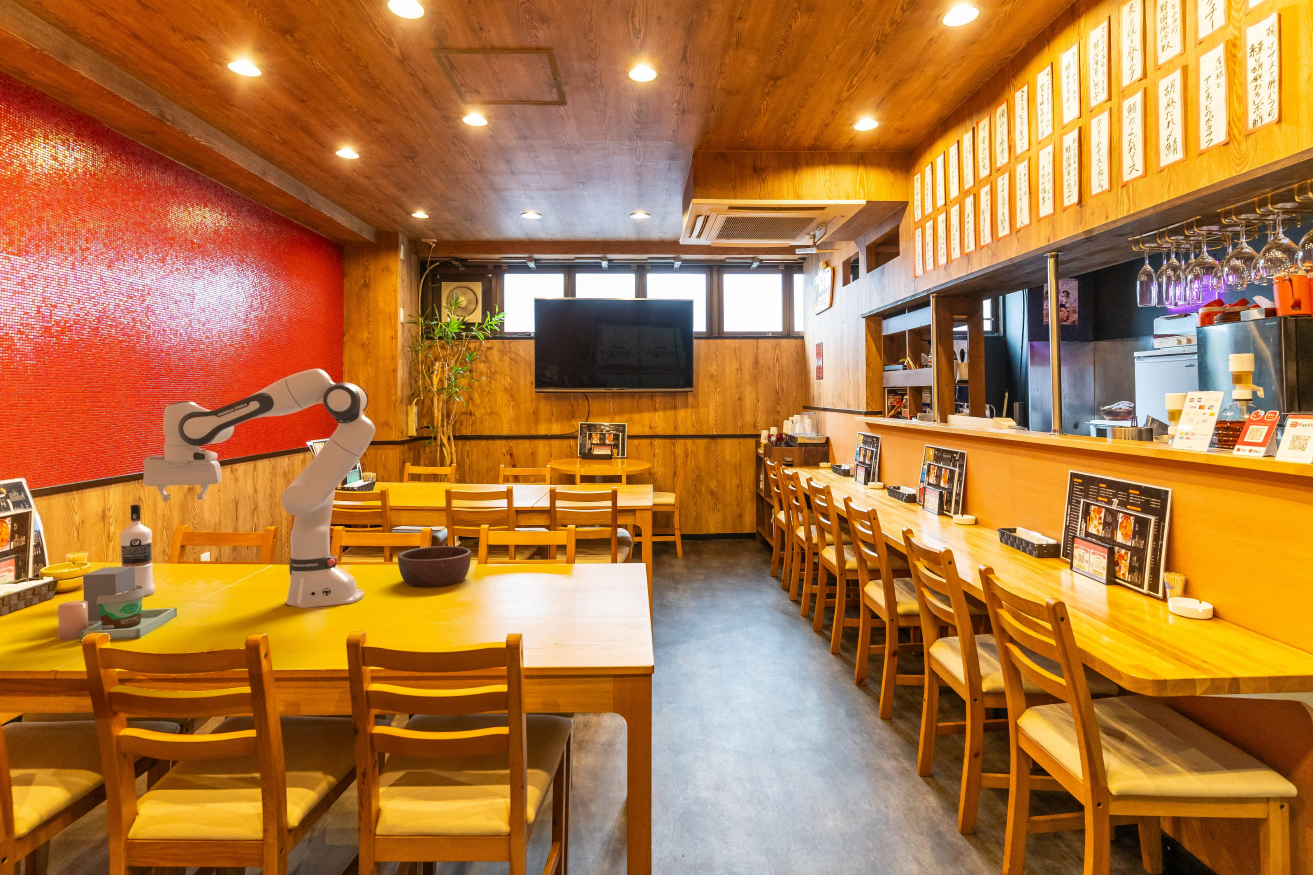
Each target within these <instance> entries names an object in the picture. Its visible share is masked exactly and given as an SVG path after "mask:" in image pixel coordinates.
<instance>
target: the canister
mask: <svg viewBox="0 0 1313 875" xmlns="http://www.w3.org/2000/svg"><path fill="white" fill-rule="evenodd" d="M57 612H58V614H57V617H58V618H57V619H58V620H57V621H58V640H59V641H62V642H63V641H64V642H65V641H66V642H67V641H75V640H79V632H81V631H83V630H85V629H87V628H89V625H88V601H84V600H72V601H65V602H63V603H60V604H58V605H57Z"/></svg>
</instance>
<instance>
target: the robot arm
mask: <svg viewBox="0 0 1313 875" xmlns="http://www.w3.org/2000/svg"><path fill="white" fill-rule="evenodd" d="M318 404H323V406H324V408H325V409H326V411H327V413H329V414H330V416H331V417H332V418H333V420H334V421H336V423H338V425H337V427H336V428H335V430H334V431H333V433H332V434H331V435H330V437H329V438H328V440H327V441H326V442H325V444H324V445H323V447H321V449H320V450H319V452H318V453H317V454H316V456H314V458H313V459H312V460H311V461H310V463H308V464H307V466H305V467H304V469H303V470H302V471H301V472H300V473H299V474H298V475H297V476H296V478H294V480H293V481H292V482H290V484H289V486H287V488H286V489H285V490H284V491H283V492H282V495H281V499H280V501H281V502H280V503H281V506H282V508H283V510H285V512H287V513H288V514H290V515H293V516H294V522H293V526H292V529H291V532H290V557H289V563H288V565H289V568H288V569H289V576H290V582H289V590H288V593H287V598H286V601H285V604H286V605H289V606H294V607H298V608H299V609H307V608H314V607H315V608H316V607H317V608H318V607H325V606H326V607H327V606H335V605H345V604H352V603H353V604H354V603H356V602H358V601H360V600H361V599H362V598H364V596H365V592H364V590H363V589H359V588H358V587H357V582H356V580H355V577H354V576H353V575H352V574H350V573H349V572H347V571H345V570H344V569H342V568H341V567H339V566H337V565H338V564H337V563H338V555H335V556H334V555H332V554H331V552H330V548H331V547H330V546H331V545H330V544H331V543H330V542H331V540H330V539H331V537H330V534H331V532H330V530H331V522H332V514H333V508H334V499H335V496H336V488H337V487H338V486H339V485H340V484H341V482H343V481H344V480H345V478H347V476H348V475H349V474H350V473H351V471H352V470H353V468H354V467H356V465H357V463H358V461H360V459H361V457H362V456H363V455H364V453H365V452H366V450H367V449H368V447H369V446H370V444H371V442H372V440H373V438H374V436H375V433H376V427H375V424H374V422H373V421H372V420H371V419H370V418H368V417H367V416H366V415H365V414H364V412H365V411H366V410H367V407H368V406H369V405H368V404H369V396H368V393H367V392H366V390H365V389H364V388H362V386H359V385H357V384H355V383H352V382H334V381H333V379H332V378H331V376H330V375H329V374H328V373H327V372H326V371H325V370H323V369H321V368H311V369H306V370H303V371H300V372H299V371H298V372H296V373H294V374H290V375H288V376H286V377H284V378H281V379H279V380H277V381H275V382H273V383H272V384H270V385H267V386H266V387H264V388H262V389H261V390H259V391H257V392H254V393H253V394H251V395H248V396H247V397H245V398H242V399H240V400H237V401H235V402H232V403H229V404H227V405H224V406H221V407H219V408H216V409H214V410H210V409H207V408H204V407H202V406H200V405H199V404H197V403H196V402H195V401H189V400H188V401H178V402H173V403H170V404H167V406H166V407H165V409H164V411H163V425H162V426H163V427H162V428H163V433H164V438H165V439H164V444H163V449H164V451H163V452H164V453H163V454H164V455H163V454H161V455H149V456H148V457H145V458H144V459H143V470H144V471H143V476H142V478H143V481H142V482H143V484H144V485H145V487H157V492H159V493H160V495H161V500H162V501H163V502H165V501H171V494H170V493H169V494H168V493H167V491H166V489H167V486H168V487H169V486H195V485H196V486H197V485H200V489H202V490H201V491H200V493H197V494H196V496H197V498H196V499H197V500H205V499H206V493H207V491H208V490H209V488H210V486H209V485H217V484H220V483H221V482H222V480H223V476H222V475H223V474H222V468H221V464H220V462H219V461H218V460H217V459H218V457H219V456H218V453H217V452H215V451H212V450H206V449H204V448H200V447H201V446H205V445H212V444H220V443H223V442H226V441H228V440H230V438H232V436H233V435H234V433H235V426H237V425H240V424H242V423H244V422H247V421H250V420H252V419H253V420H254V419H258V418H263V417H279V416H286V415H290V414H294V413H298V412H300V411H303V410H305V409H307V408H310V407H311V406H314V405H318ZM357 588H358V589H357Z"/></svg>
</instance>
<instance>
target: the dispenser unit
mask: <svg viewBox="0 0 1313 875" xmlns="http://www.w3.org/2000/svg"><path fill="white" fill-rule="evenodd" d="M82 582H83V584H82V585H83V586H82V587H83V601H88V626H90V625H91V626H93V625H95V624H97V623H99V622H101V616H100V609H99V604H96V602H97V598H98V596H107V595H113V594H115V593H117V592H122V591H129V590H132V589H135V566H126V567H121V566H110V567H109V566H108V567H107V566H105V567H102V568H99V569H97V570H94V571H91V572H87V573H85V574H83V575H82Z"/></svg>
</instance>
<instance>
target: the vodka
mask: <svg viewBox="0 0 1313 875" xmlns="http://www.w3.org/2000/svg"><path fill="white" fill-rule="evenodd" d="M152 536H153V531H152V529H151V528H149V527H147V526H145V525H144V524H142V521H141V504H136V503H135V504H131V505H130V525H129V526H127V527H125V528H124V529H123V530H122V531H120V534H119V540H120V544H119V545H120V551H121V552H120V555H121V558H120V559H121V566H120V567H126V566H135V589H136V585H139V586H143V588H144V590H145V593H146V594H145V595H144V596H143V597H148V596H150V595H153V594H154V593H155V592H156V585H155V583H154V576H153V575H154V574H153V565H154V563H153V550H152V548H153V546H152V542H153V540H152Z"/></svg>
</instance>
